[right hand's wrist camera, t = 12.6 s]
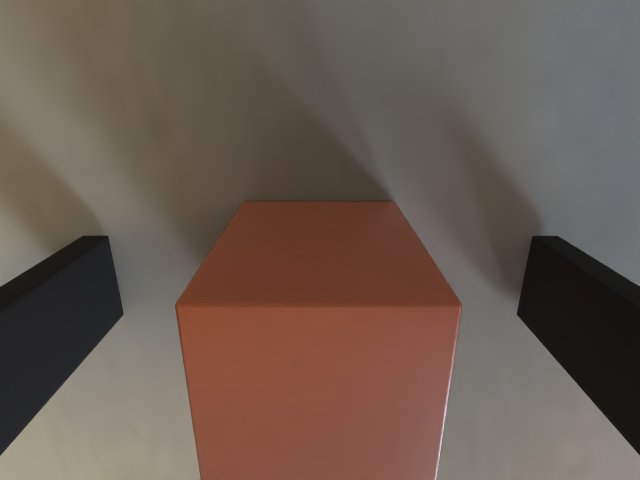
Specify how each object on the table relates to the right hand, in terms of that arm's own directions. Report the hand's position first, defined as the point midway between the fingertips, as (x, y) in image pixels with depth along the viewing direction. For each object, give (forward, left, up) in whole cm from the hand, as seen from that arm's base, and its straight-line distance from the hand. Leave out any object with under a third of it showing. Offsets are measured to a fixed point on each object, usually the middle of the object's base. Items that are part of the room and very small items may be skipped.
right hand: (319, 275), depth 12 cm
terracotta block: (0, 0, 0) cm, 0 cm away
